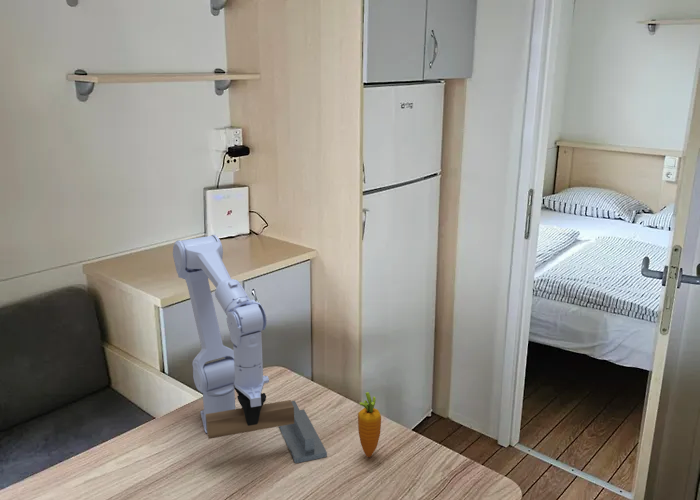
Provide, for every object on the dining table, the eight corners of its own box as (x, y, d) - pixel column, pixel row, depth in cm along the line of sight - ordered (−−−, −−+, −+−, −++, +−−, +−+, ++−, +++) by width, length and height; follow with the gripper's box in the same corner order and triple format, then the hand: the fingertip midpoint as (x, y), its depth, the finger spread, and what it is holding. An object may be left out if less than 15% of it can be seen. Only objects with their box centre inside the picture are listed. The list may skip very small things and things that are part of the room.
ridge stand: (275, 418, 150) (275, 401, 149) (304, 413, 153) (303, 396, 151) (295, 463, 134) (294, 444, 133) (326, 456, 136) (326, 438, 135)
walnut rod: (206, 430, 132) (205, 414, 131) (290, 416, 138) (290, 399, 136) (208, 438, 129) (207, 421, 128) (294, 423, 135) (293, 407, 134)
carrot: (378, 465, 134) (379, 402, 129) (355, 462, 135) (355, 400, 130) (381, 451, 138) (383, 390, 134) (359, 448, 139) (360, 388, 135)
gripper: (275, 374, 124) (277, 435, 128) (260, 343, 137) (262, 399, 141) (239, 380, 121) (242, 441, 126) (227, 348, 135) (230, 404, 139)
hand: (250, 419), depth 133 cm, fingers closed on walnut rod, 3 cm apart
